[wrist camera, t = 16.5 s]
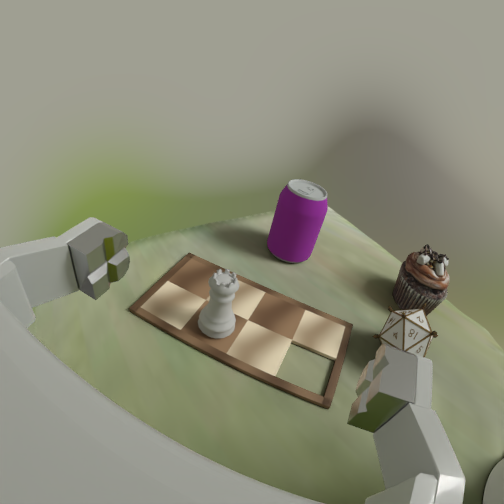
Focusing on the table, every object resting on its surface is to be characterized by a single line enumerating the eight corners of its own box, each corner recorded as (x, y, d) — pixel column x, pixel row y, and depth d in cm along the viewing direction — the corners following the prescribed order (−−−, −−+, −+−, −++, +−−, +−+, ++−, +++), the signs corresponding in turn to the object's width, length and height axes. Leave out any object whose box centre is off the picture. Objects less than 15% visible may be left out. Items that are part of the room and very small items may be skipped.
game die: (370, 372, 40) (356, 331, 35) (394, 327, 44) (384, 282, 39) (426, 389, 33) (424, 349, 28) (446, 338, 37) (446, 291, 32)
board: (351, 326, 41) (352, 324, 41) (328, 409, 30) (330, 407, 30) (188, 255, 47) (189, 252, 47) (129, 310, 36) (129, 308, 36)
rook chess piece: (239, 320, 38) (252, 272, 33) (226, 346, 35) (237, 298, 30) (207, 307, 39) (214, 257, 34) (191, 331, 35) (195, 281, 31)
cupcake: (385, 307, 46) (414, 258, 40) (390, 275, 54) (414, 230, 48) (433, 329, 44) (466, 284, 38) (432, 295, 51) (459, 253, 45)
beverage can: (282, 233, 57) (299, 173, 50) (317, 254, 54) (339, 194, 47) (256, 248, 52) (273, 182, 45) (293, 272, 49) (317, 205, 42)
